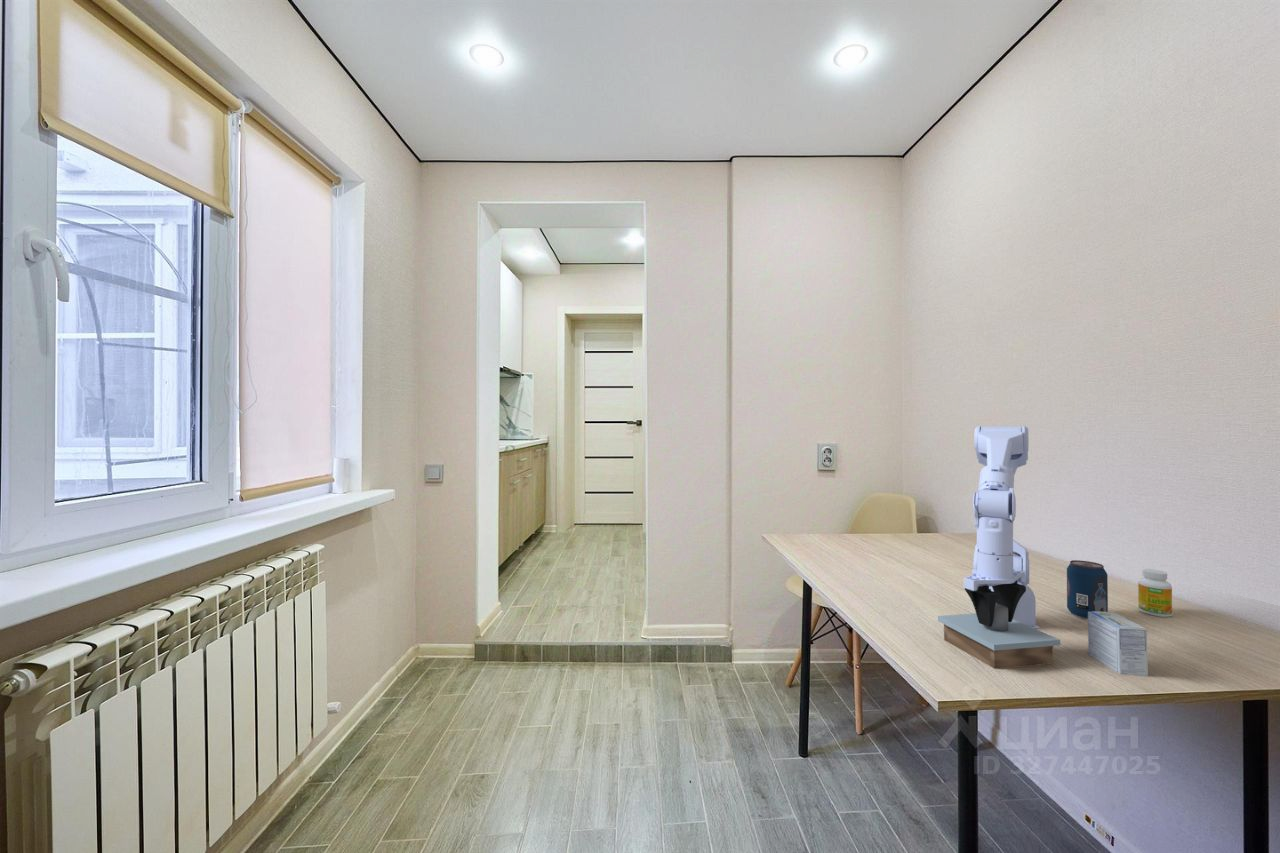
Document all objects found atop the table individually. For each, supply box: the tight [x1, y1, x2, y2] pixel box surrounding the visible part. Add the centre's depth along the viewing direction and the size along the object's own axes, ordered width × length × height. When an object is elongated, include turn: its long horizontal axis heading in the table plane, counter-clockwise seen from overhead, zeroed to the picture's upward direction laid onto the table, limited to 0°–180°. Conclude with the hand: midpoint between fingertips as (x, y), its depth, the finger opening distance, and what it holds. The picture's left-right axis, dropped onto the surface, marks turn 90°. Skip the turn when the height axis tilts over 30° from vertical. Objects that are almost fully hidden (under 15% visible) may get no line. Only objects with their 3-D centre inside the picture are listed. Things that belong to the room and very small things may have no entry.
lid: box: [937, 604, 1061, 651], centre depth 94 cm, size 14×14×6 cm
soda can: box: [1066, 559, 1109, 621], centre depth 112 cm, size 7×7×12 cm
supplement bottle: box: [1137, 568, 1173, 618], centre depth 113 cm, size 5×5×10 cm
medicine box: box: [1087, 611, 1149, 677], centre depth 89 cm, size 8×4×9 cm, turn 168°
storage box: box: [943, 624, 1054, 670], centre depth 94 cm, size 12×12×4 cm
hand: (995, 622), depth 94 cm, fingers open, 5 cm apart
